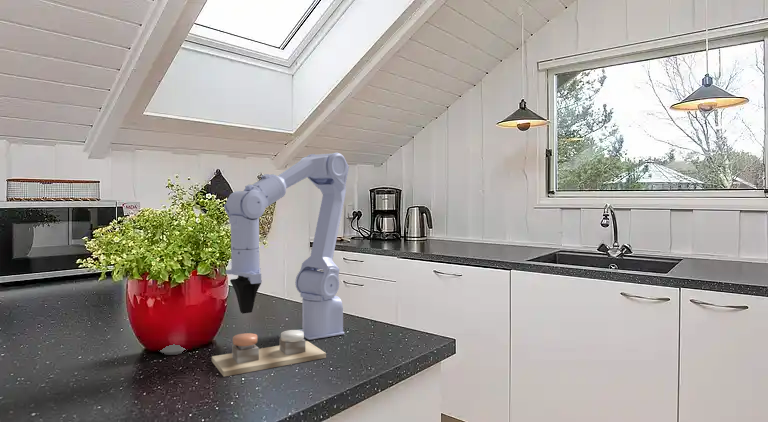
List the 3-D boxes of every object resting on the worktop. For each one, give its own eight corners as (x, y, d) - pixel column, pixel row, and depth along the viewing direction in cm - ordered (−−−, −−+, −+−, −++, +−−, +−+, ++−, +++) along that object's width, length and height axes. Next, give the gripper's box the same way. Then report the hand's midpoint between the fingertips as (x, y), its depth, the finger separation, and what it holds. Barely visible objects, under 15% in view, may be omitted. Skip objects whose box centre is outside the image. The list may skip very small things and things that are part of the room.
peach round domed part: (253, 350, 106) (253, 332, 105) (260, 356, 101) (260, 337, 101) (230, 353, 103) (230, 335, 103) (236, 360, 99) (236, 341, 99)
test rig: (307, 345, 115) (307, 329, 114) (326, 357, 106) (325, 341, 106) (211, 361, 104) (211, 344, 104) (223, 376, 95) (223, 358, 95)
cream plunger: (298, 346, 111) (298, 328, 111) (307, 352, 107) (307, 334, 106) (277, 349, 108) (277, 332, 108) (285, 355, 104) (285, 337, 104)
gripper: (217, 246, 110) (218, 307, 111) (235, 253, 98) (236, 322, 99) (249, 244, 114) (250, 303, 115) (271, 250, 102) (271, 317, 102)
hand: (246, 312), depth 107 cm, fingers closed
